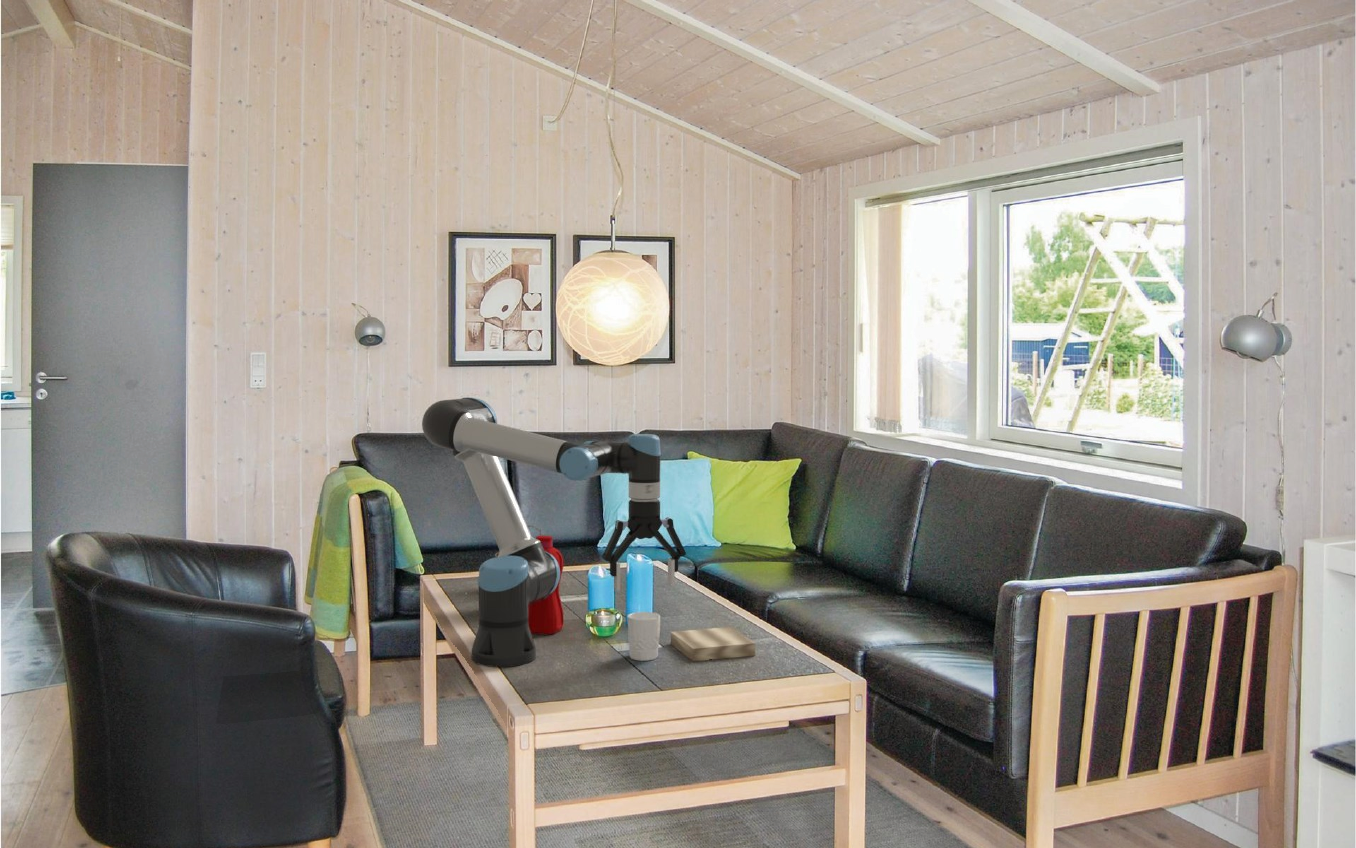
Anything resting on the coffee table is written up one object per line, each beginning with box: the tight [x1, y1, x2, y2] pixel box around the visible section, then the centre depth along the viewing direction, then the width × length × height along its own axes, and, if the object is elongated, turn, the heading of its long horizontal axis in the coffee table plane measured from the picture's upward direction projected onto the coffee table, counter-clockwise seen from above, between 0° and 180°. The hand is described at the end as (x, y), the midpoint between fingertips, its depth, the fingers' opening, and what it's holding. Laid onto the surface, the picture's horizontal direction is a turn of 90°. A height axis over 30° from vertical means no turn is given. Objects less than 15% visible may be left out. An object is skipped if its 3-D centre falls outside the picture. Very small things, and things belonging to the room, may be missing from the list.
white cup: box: [627, 611, 661, 662], centre depth 266 cm, size 8×8×10 cm
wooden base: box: [670, 626, 756, 662], centre depth 273 cm, size 16×16×3 cm
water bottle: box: [528, 534, 565, 636], centre depth 289 cm, size 9×11×25 cm
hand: (644, 587), depth 265 cm, fingers open, 13 cm apart
